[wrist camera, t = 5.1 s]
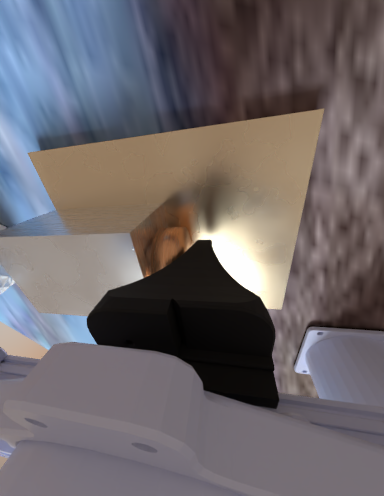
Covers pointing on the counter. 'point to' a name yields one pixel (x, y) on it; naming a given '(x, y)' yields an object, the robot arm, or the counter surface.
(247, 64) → the counter surface
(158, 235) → the shaft
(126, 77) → the counter surface
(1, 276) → the white cup
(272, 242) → the bearing block
